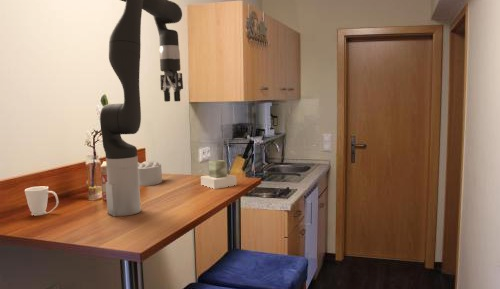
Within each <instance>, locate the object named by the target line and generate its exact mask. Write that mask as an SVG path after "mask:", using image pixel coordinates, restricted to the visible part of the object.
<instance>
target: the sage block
mask: <svg viewBox="0 0 500 289" xmlns="http://www.w3.org/2000/svg"><path fill="white" fill-rule="evenodd" d="M208 173H209V177H214V178H220V177H226V176H227V174H228V164H227V160H222V159H215V160H208Z"/></svg>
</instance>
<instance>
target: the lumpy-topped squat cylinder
mask: <svg viewBox="0 0 500 289" xmlns="http://www.w3.org/2000/svg"><path fill="white" fill-rule="evenodd" d="M162 172H163V171H162V163H159V162H158V161H156V160H155V161H154V160H151V161H145V160H144V161H143V162H139V161H138V173H139V187H149V186H154V185H159V184H160V183H162V182H163V174H162Z"/></svg>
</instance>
